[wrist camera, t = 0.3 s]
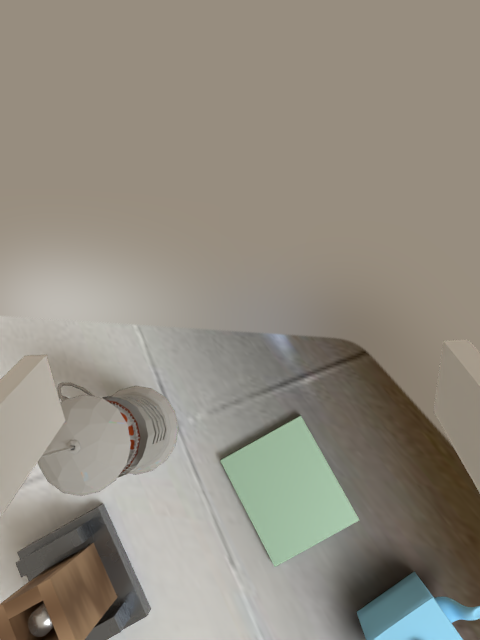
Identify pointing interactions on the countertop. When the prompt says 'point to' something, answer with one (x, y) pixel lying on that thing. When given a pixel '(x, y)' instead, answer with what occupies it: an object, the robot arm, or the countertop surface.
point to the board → (288, 491)
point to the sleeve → (61, 599)
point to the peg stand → (116, 564)
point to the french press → (108, 439)
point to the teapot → (413, 614)
